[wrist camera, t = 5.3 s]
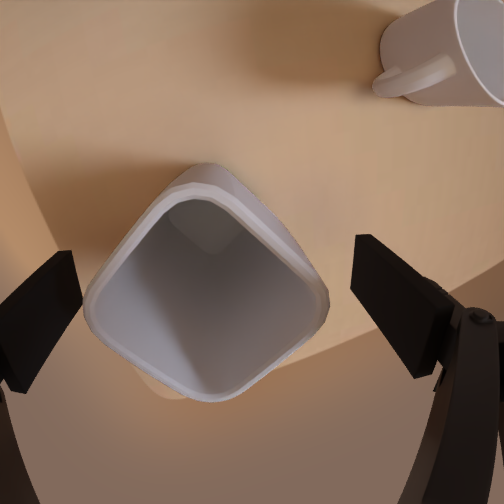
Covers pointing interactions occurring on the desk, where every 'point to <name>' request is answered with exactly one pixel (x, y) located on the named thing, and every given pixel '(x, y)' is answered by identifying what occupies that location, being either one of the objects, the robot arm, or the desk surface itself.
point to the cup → (206, 289)
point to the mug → (445, 55)
